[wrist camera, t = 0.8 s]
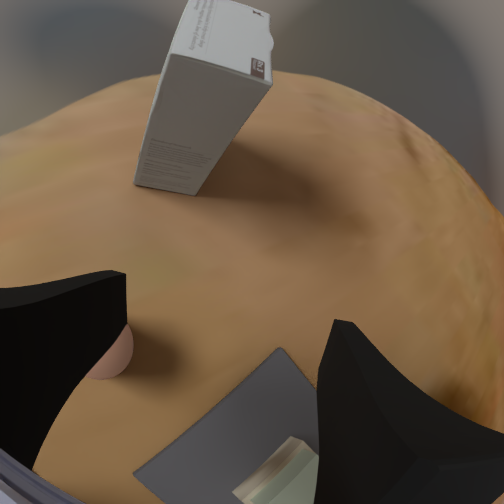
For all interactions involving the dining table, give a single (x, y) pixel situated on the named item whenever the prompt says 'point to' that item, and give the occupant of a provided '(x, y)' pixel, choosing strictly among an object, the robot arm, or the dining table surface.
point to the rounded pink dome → (114, 357)
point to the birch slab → (269, 469)
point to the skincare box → (204, 93)
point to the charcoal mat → (236, 436)
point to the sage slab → (292, 482)
